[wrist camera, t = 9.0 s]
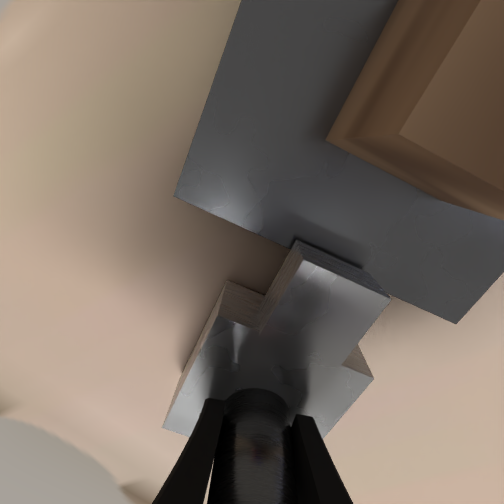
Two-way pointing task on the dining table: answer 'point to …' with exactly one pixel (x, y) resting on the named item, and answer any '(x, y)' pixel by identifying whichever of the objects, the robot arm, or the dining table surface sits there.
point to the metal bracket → (326, 159)
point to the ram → (277, 370)
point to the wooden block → (434, 102)
